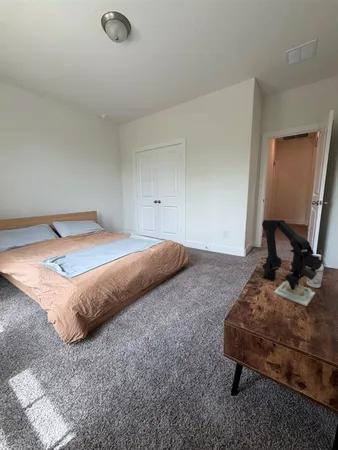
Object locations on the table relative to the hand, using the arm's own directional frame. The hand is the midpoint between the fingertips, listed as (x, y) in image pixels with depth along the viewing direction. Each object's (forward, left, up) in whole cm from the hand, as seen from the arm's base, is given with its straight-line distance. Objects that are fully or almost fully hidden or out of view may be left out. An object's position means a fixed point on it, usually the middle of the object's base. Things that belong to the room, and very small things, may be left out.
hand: (294, 287), depth 108 cm
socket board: (0, 0, -4) cm, 4 cm away
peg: (0, 0, -3) cm, 3 cm away
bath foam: (+5, +19, -4) cm, 20 cm away
